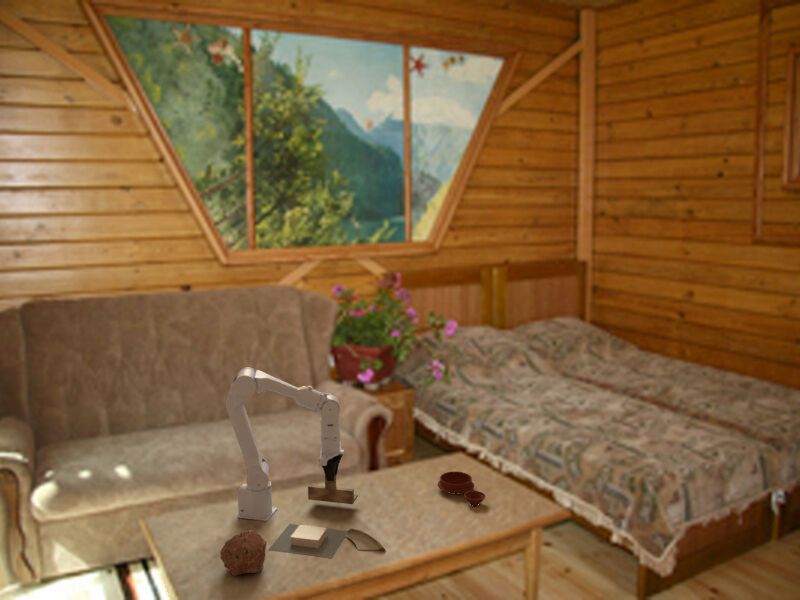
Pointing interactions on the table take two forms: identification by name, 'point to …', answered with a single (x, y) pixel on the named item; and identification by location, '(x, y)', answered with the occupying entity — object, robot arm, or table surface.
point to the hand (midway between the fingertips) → (331, 479)
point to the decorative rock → (244, 553)
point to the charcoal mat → (324, 550)
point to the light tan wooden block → (309, 536)
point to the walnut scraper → (331, 493)
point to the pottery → (460, 486)
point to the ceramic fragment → (363, 540)
